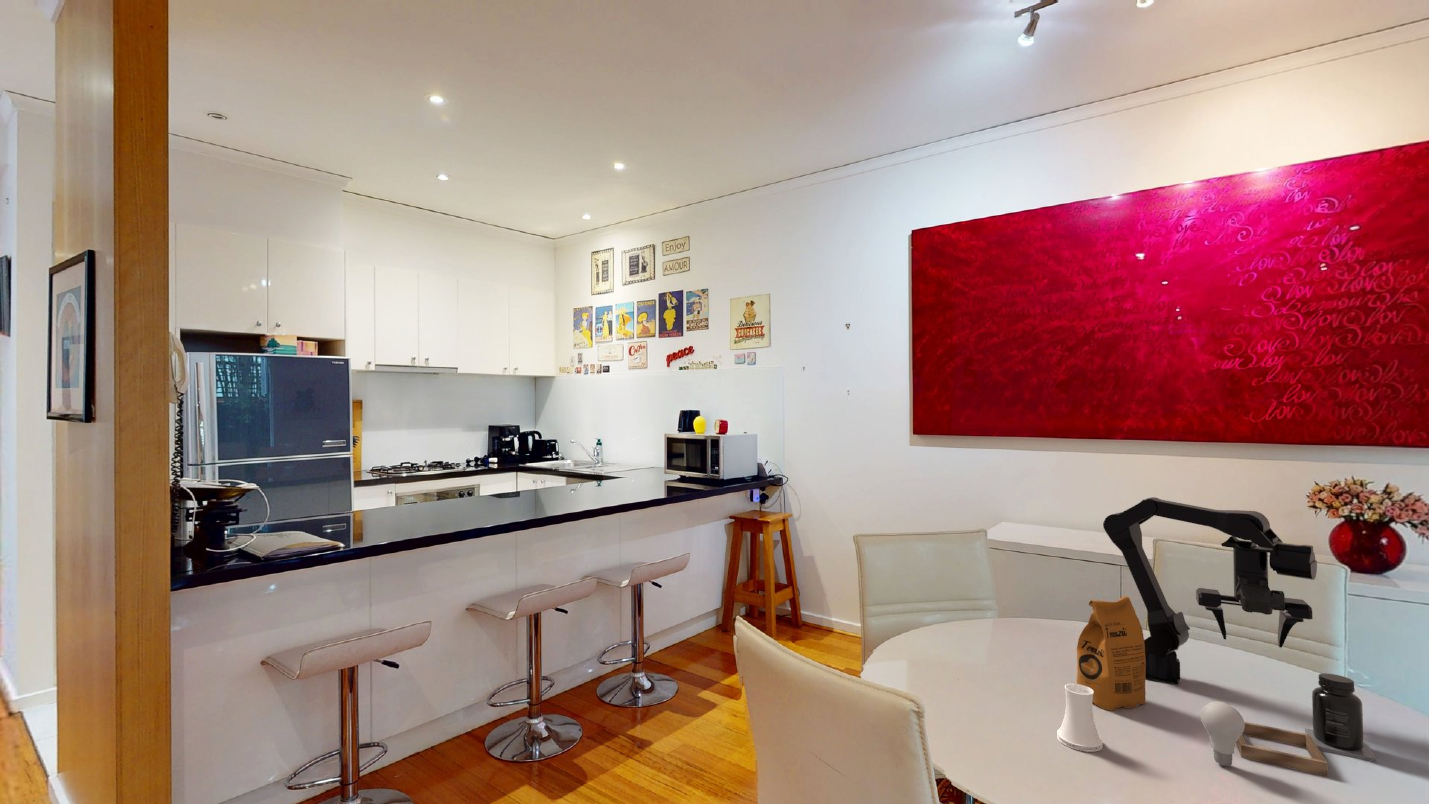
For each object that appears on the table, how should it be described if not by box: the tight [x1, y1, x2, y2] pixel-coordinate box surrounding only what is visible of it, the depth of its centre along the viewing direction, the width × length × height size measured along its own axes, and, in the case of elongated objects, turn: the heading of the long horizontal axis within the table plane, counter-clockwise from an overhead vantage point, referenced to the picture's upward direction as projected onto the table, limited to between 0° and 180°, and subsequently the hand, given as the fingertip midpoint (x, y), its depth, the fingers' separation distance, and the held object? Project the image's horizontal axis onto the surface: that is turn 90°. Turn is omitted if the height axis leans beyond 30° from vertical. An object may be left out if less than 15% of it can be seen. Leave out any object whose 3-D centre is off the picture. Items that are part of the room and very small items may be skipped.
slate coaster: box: [1304, 727, 1377, 762], centre depth 120 cm, size 8×8×1 cm
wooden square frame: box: [1235, 721, 1329, 777], centre depth 118 cm, size 12×12×2 cm
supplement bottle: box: [1311, 672, 1365, 750], centre depth 120 cm, size 7×7×12 cm
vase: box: [1056, 683, 1104, 753], centre depth 121 cm, size 8×8×10 cm
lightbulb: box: [1200, 701, 1245, 767], centre depth 113 cm, size 6×6×11 cm
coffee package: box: [1076, 595, 1147, 711], centre depth 139 cm, size 10×12×22 cm
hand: (1251, 642), depth 137 cm, fingers open, 9 cm apart
